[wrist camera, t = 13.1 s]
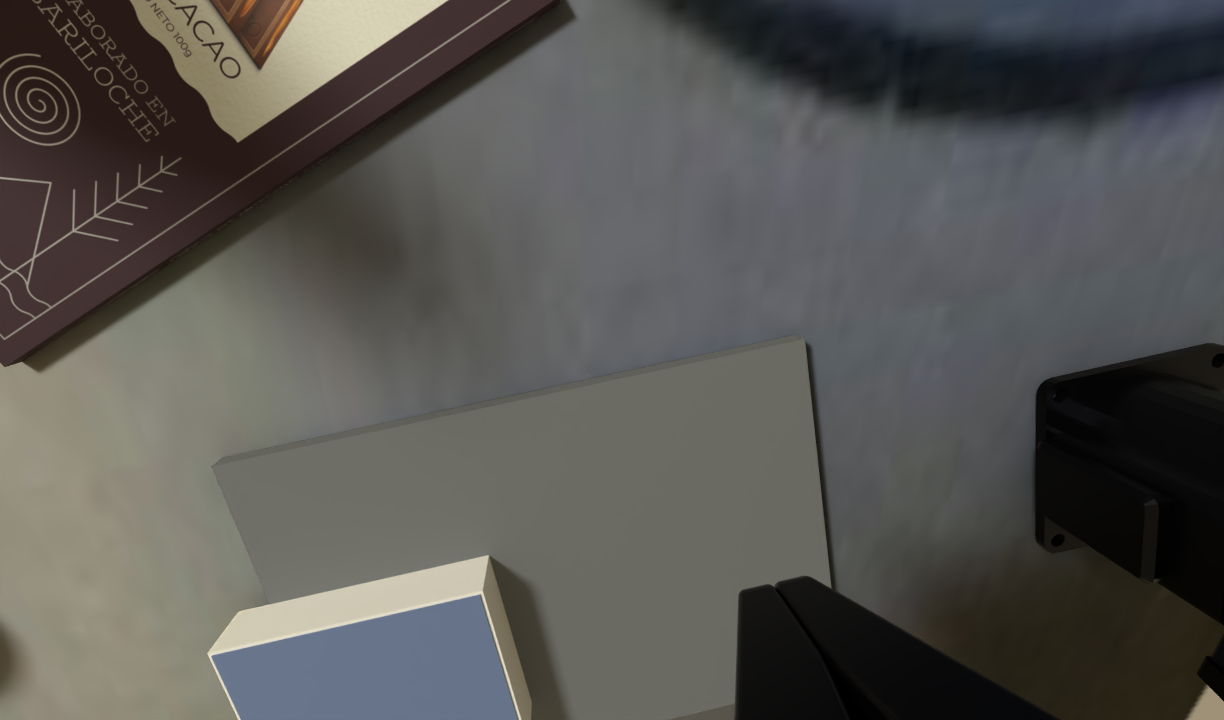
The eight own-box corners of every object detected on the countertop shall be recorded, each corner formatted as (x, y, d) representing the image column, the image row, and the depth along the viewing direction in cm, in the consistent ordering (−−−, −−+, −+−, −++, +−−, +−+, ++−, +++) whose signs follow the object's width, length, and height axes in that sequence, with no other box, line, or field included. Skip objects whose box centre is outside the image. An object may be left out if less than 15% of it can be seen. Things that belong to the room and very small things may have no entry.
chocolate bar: (-302, 55, 14) (331, -413, 13) (-250, 63, 15) (346, -373, 14) (4, 366, 17) (560, -5, 15) (33, 357, 17) (559, 7, 16)
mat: (797, 334, 19) (804, 338, 18) (833, 665, 23) (840, 678, 22) (222, 457, 18) (211, 466, 18) (354, 779, 22) (349, 795, 21)
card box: (529, 748, 19) (278, 808, 19) (531, 702, 21) (302, 755, 21) (482, 591, 18) (206, 654, 17) (489, 555, 19) (238, 611, 19)
